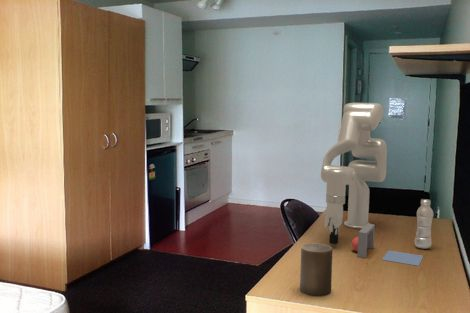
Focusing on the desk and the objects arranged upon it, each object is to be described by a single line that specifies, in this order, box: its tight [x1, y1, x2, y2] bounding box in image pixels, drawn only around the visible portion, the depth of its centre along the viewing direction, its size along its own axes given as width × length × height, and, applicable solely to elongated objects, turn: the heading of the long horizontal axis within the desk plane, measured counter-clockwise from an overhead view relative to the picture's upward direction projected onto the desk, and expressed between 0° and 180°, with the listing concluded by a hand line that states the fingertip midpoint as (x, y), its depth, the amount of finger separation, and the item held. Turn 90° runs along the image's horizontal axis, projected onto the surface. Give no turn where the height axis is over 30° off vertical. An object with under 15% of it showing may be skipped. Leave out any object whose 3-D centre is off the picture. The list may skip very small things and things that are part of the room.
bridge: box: [356, 223, 376, 259], centre depth 186 cm, size 3×15×10 cm, turn 152°
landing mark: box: [381, 250, 424, 267], centre depth 180 cm, size 13×13×1 cm
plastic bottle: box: [414, 198, 434, 250], centre depth 192 cm, size 6×7×20 cm
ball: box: [351, 236, 358, 253], centre depth 187 cm, size 6×6×6 cm
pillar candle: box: [299, 242, 333, 297], centre depth 147 cm, size 10×10×15 cm
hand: (333, 243), depth 192 cm, fingers closed
